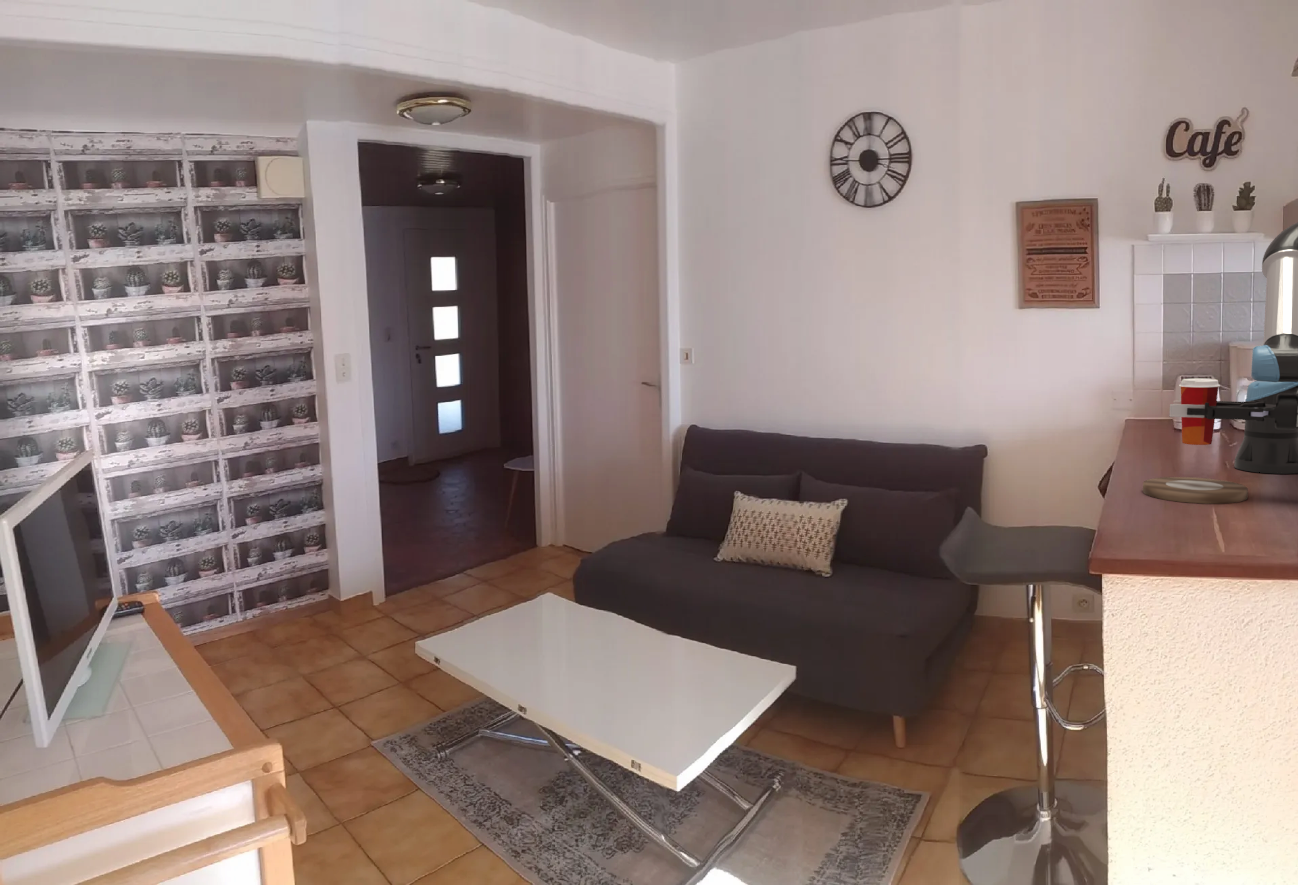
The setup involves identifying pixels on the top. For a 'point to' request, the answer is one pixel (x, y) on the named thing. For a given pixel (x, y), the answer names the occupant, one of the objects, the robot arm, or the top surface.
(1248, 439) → the robot arm
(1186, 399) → the paper cup
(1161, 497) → the disc
